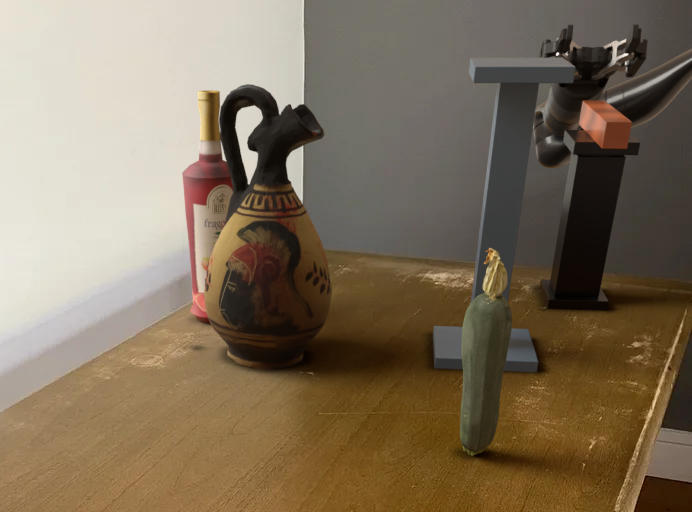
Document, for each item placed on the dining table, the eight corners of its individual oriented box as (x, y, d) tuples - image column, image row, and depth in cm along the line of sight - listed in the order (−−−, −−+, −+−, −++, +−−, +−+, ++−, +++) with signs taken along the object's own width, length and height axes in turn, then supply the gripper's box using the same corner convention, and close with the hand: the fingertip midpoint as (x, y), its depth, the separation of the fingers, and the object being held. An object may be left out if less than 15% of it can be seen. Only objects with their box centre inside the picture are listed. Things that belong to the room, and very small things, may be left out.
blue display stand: (432, 336, 125) (460, 56, 107) (526, 340, 124) (571, 56, 106) (434, 369, 115) (465, 67, 97) (536, 373, 114) (587, 67, 96)
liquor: (201, 330, 128) (192, 96, 113) (181, 315, 134) (169, 90, 118) (250, 322, 131) (248, 92, 115) (228, 308, 136) (224, 86, 121)
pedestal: (539, 289, 142) (564, 129, 130) (595, 291, 141) (626, 130, 129) (547, 310, 134) (575, 141, 122) (606, 312, 133) (640, 142, 121)
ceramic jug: (348, 346, 123) (361, 82, 106) (297, 387, 111) (304, 98, 95) (231, 327, 129) (226, 76, 112) (172, 364, 118) (157, 91, 101)
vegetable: (496, 468, 93) (527, 257, 82) (451, 468, 93) (477, 258, 82) (487, 448, 97) (516, 244, 86) (444, 449, 97) (467, 245, 86)
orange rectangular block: (578, 124, 134) (582, 100, 132) (600, 124, 133) (605, 100, 132) (601, 148, 117) (606, 121, 116) (627, 149, 117) (632, 121, 115)
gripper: (623, 113, 145) (655, 60, 129) (526, 112, 146) (546, 60, 130) (627, 61, 144) (660, 2, 128) (530, 62, 146) (550, 2, 130)
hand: (602, 31), depth 129 cm, fingers open, 8 cm apart
